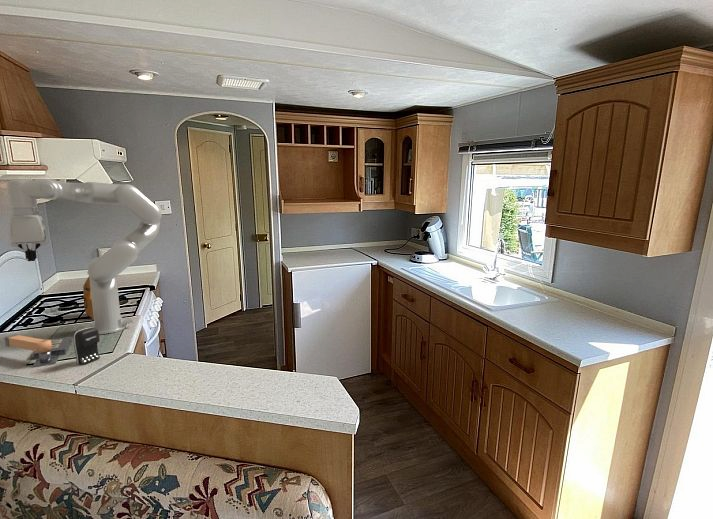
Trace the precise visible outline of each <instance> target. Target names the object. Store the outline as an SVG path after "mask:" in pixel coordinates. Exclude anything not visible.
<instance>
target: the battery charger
mask: <svg viewBox="0 0 713 519" xmlns="http://www.w3.org/2000/svg"><path fill="white" fill-rule="evenodd" d="M72 337H73V338H72V341H73V347H74V353H75V362H76V364H77V365H83V366H84V365H87V364H90V363H92V362H95V361H97V360H99V359H100V358H101V357H100V353H99V348H98V347H99V346H98V343H99V342H101V340H100V339H101V338H100V334H99V332H98V330H97V329H96V328H94V327H85V328H82V329H79V330H77V331H74V333H73V336H72Z"/></svg>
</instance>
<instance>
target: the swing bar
mask: <svg viewBox="0 0 713 519" xmlns="http://www.w3.org/2000/svg"><path fill="white" fill-rule="evenodd" d="M51 340H52V339H42V338H37V337H31V336H26V335H20V334H18V333H14V334H11V335H7V336H4V343H5V347H7V348H10V347H13V348H17V349H18V348H19V349H22V350H23V349H24V350H28V351H33V352H35V351H37V352H38V353H41V352H47V351H50V350H52V344H51Z"/></svg>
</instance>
